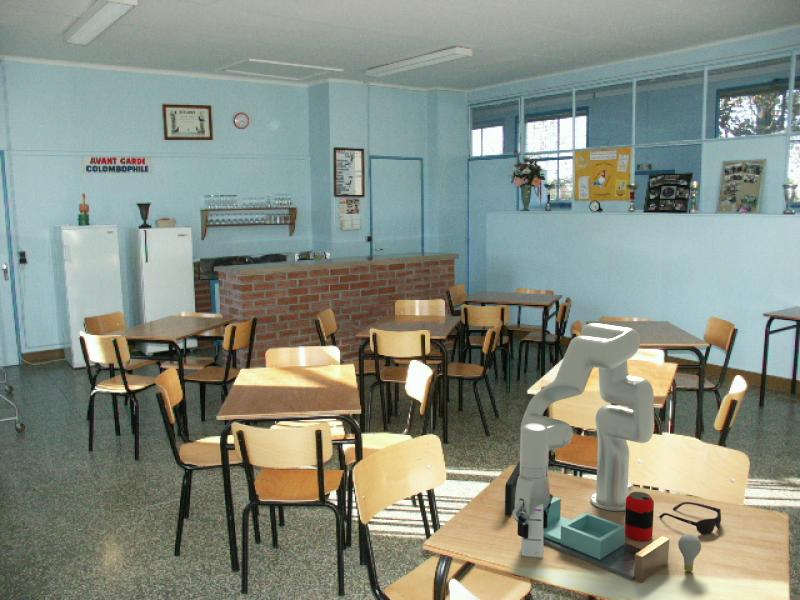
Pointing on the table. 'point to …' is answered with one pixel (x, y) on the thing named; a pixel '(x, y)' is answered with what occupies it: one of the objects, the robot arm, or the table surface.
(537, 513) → the syrup box
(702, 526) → the sunglasses
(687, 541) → the light bulb
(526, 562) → the table surface
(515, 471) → the nameplate
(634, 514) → the soda can
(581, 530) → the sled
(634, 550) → the rail
